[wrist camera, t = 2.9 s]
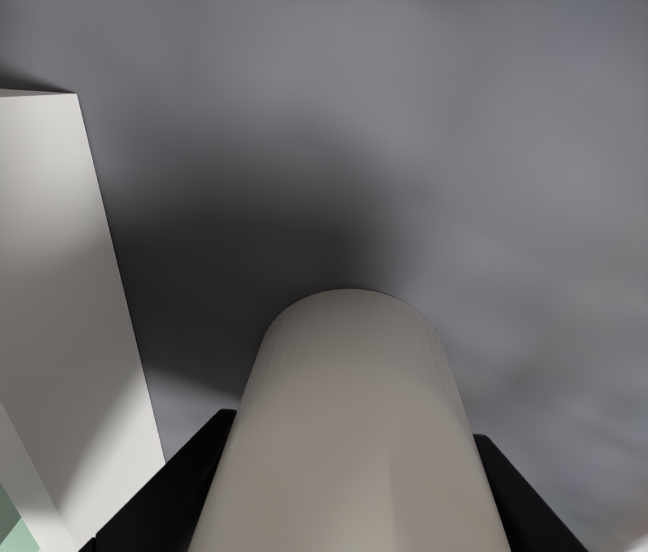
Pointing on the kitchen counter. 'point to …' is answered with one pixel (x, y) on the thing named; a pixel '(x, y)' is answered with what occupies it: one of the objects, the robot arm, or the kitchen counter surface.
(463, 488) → the jar
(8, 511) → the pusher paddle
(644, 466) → the kitchen counter surface
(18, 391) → the white tray
